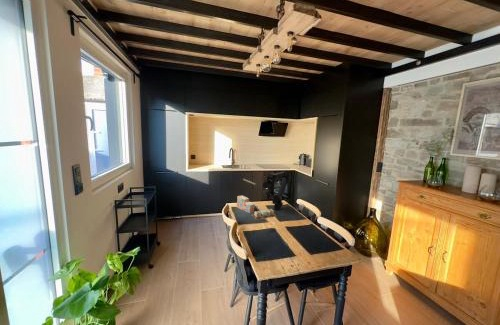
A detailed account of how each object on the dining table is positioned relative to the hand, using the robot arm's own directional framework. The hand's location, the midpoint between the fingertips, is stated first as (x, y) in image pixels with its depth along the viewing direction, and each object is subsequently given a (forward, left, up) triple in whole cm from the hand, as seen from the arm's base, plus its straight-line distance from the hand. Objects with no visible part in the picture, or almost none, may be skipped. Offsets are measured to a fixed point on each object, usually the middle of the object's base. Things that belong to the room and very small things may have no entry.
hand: (270, 202), depth 195 cm
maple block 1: (+16, +4, -11) cm, 20 cm away
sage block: (+9, +4, -11) cm, 15 cm away
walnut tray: (+9, +4, -12) cm, 16 cm away
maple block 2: (+2, +4, -11) cm, 12 cm away
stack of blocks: (+19, -16, -12) cm, 28 cm away
